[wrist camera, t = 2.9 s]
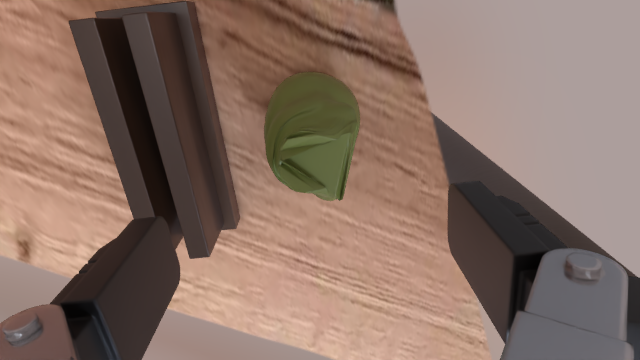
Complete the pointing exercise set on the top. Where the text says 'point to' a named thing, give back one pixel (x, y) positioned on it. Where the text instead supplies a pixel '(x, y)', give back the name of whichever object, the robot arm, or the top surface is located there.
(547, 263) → the robot arm
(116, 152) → the holder
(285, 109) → the pear
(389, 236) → the top surface
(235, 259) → the top surface
